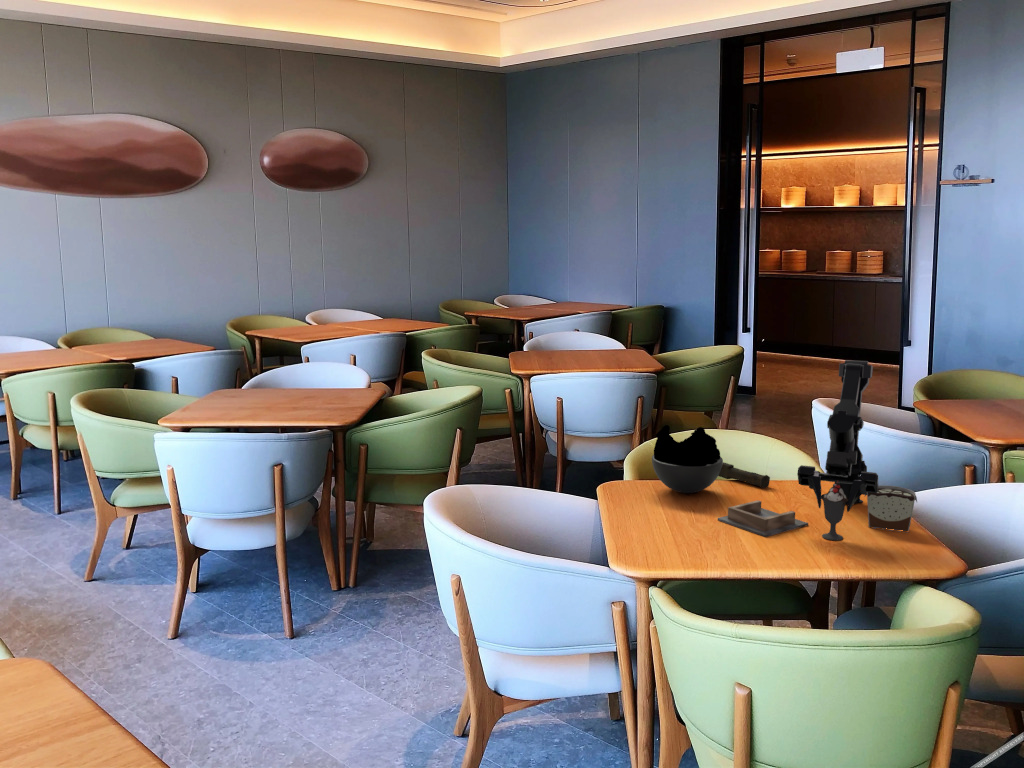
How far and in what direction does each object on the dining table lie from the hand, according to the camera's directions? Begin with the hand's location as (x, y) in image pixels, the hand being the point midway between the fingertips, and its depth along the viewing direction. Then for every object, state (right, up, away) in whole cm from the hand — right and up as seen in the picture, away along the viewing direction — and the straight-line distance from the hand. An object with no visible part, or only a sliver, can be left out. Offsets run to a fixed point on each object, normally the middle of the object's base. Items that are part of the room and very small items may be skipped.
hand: (833, 509), depth 227 cm
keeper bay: (-14, -5, +14) cm, 20 cm away
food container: (+18, -6, +11) cm, 22 cm away
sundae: (+1, -7, +3) cm, 8 cm away
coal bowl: (-28, -1, +42) cm, 50 cm away
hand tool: (-10, +1, +52) cm, 53 cm away
